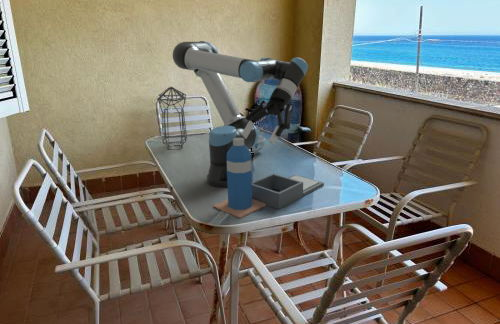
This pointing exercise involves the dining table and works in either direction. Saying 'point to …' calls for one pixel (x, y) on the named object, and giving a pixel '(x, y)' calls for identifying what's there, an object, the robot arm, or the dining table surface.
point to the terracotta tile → (240, 213)
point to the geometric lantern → (176, 112)
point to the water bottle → (239, 176)
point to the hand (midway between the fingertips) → (256, 139)
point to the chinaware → (259, 144)
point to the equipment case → (282, 189)
